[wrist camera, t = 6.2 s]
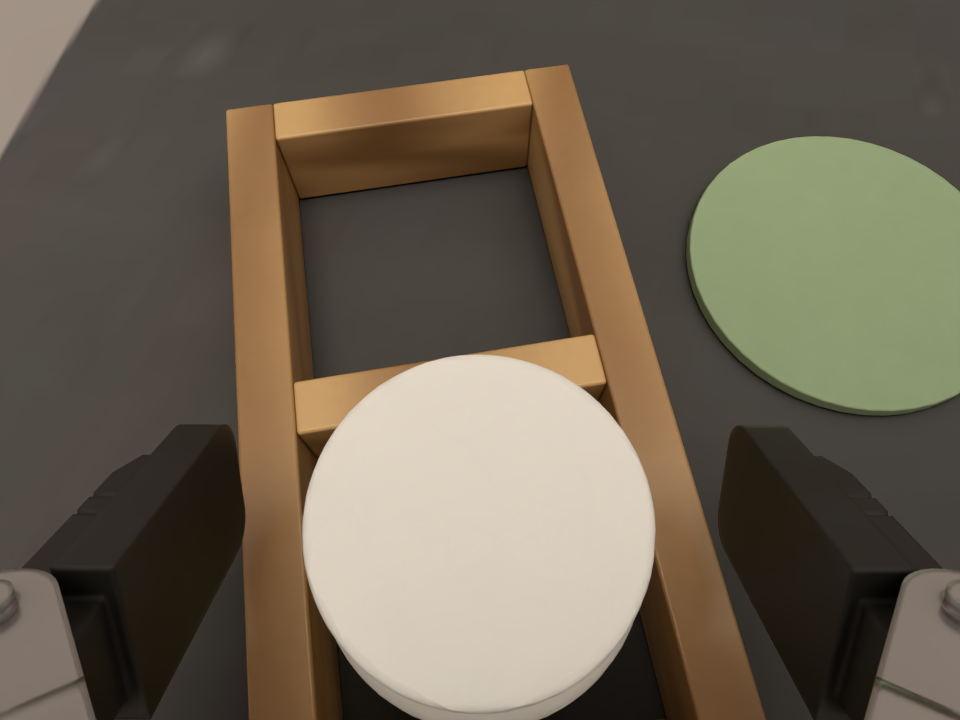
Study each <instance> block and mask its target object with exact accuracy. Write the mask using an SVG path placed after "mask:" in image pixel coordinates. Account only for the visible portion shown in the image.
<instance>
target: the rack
mask: <svg viewBox="0 0 960 720" xmlns="http://www.w3.org/2000/svg"><path fill="white" fill-rule="evenodd" d="M226 121H227V148H228V174H229V201H230V228H231V255H232V282H233V309H234V335H235V362H236V389H237V416H238V443H239V469H240V477H241V483H242V490H243V497H244V503H245V513H246V520H245V530H244V536H243V540H242V550H243V577H244V604H245V630H246V657H247V684H248V711H249V720H343V709H342V698H341V686H340V674H339V663H338V651H337V642H336V639H335V638H334V636H333V635H332V633H331V632H330V630H329V629H328V627H327V626H326V624H325V622H324V620H323V618H322V616H321V614H320V612H319V610H318V607H317V605H316V603H315V600H314V598H313V595H312V592H311V589H310V586H309V582H308V579H307V574H306V569H305V565H304V556H303V542H302V520H303V513H304V506H305V500H306V494H307V490H308V487H309V483H310V480H311V477H312V474H313V471H314V469H315V466H316V464H317V461H318V459H319V457H320V455H321V453H322V451H323V449H324V447H325V445H326V443H327V442H328V440H329V439H330V437H331V435H332V434H333V432H334V431H335V429H336V428H337V427H338V425H339V424H340V423H341V422H342V420H343V419H344V418H345V416H346V415H347V414H348V413H349V412H350V411H351V410H352V409H353V408H354V407H355V406H356V405H357V404H358V403H359V402H360V401H361V400H362V399H363V398H364V397H366V396H367V395H368V394H369V393H370V392H372V391H373V390H374V389H375V388H377V387H378V386H379V385H381V384H383V383H384V382H386V381H388V380H389V379H391V378H393V377H395V376H396V375H398V374H400V373H402V372H404V371H406V370H409V369H411V368H413V367H415V366H418V365H421V364H424V363H427V362H431V361H434V360H430V361H424V362H418V363H412V364H405V365H399V366H393V367H387V368H381V369H374V370H368V371H362V372H356V373H350V374H343V375H337V376H331V377H325V378H318V379H314V371H313V359H312V347H311V336H310V324H309V312H308V301H307V289H306V277H305V266H304V254H303V242H302V231H301V219H300V207H299V198H308V197H315V196H322V195H329V194H336V193H343V192H350V191H357V190H364V189H371V188H378V187H385V186H392V185H399V184H406V183H413V182H420V181H427V180H434V179H441V178H448V177H455V176H462V175H469V174H476V173H483V172H490V171H497V170H504V169H511V168H518V167H525V166H526V165H528V169H529V173H530V177H531V181H532V185H533V189H534V193H535V197H536V201H537V205H538V209H539V213H540V217H541V221H542V225H543V229H544V233H545V237H546V241H547V245H548V249H549V253H550V257H551V261H552V265H553V269H554V273H555V277H556V281H557V285H558V289H559V293H560V297H561V301H562V305H563V309H564V313H565V317H566V321H567V325H568V329H569V333H570V337H571V338H567V339H561V340H554V341H548V342H542V343H536V344H530V345H523V346H517V347H511V348H505V349H499V350H492V351H486V352H480V353H474V354H467V355H478V354H483V355H496V356H504V357H510V358H514V359H518V360H523V361H526V362H530V363H533V364H537V365H539V366H542V367H544V368H547V369H549V370H552V371H554V372H556V373H558V374H560V375H562V376H564V377H565V378H567V379H568V380H570V381H572V382H573V383H575V384H576V385H578V386H579V387H581V388H582V389H584V390H585V391H586V392H587V393H589V394H590V395H591V396H592V397H593V398H594V399H596V400H597V401H598V402H599V403H600V404H601V405H602V406H603V407H604V408H605V409H606V410H607V411H608V412H609V413H610V414H611V416H612V417H613V418H614V420H615V421H616V422H617V423H618V425H619V426H620V427H621V428H622V430H623V431H624V433H625V434H626V436H627V438H628V439H629V441H630V443H631V444H632V446H633V448H634V450H635V451H636V453H637V455H638V457H639V459H640V462H641V464H642V467H643V469H644V472H645V475H646V477H647V480H648V484H649V488H650V492H651V496H652V501H653V506H654V512H655V529H656V531H655V549H654V561H653V567H652V572H651V578H650V581H649V585H648V589H647V591H646V594H645V597H644V599H643V602H642V604H641V607H640V609H639V611H640V615H641V619H642V623H643V627H644V631H645V635H646V639H647V643H648V647H649V651H650V655H651V659H652V663H653V667H654V671H655V675H656V679H657V683H658V687H659V691H660V695H661V699H662V703H663V707H664V711H665V715H666V719H667V720H766V718H765V715H764V711H763V708H762V705H761V701H760V698H759V695H758V691H757V688H756V685H755V682H754V678H753V675H752V672H751V668H750V665H749V662H748V658H747V655H746V652H745V648H744V645H743V642H742V638H741V635H740V632H739V629H738V625H737V622H736V619H735V615H734V612H733V609H732V605H731V602H730V599H729V595H728V592H727V589H726V585H725V582H724V579H723V576H722V572H721V569H720V566H719V562H718V559H717V556H716V552H715V549H714V546H713V542H712V539H711V536H710V532H709V529H708V526H707V523H706V519H705V516H704V513H703V509H702V506H701V503H700V499H699V496H698V493H697V489H696V486H695V483H694V479H693V476H692V473H691V470H690V466H689V463H688V460H687V456H686V453H685V450H684V446H683V443H682V440H681V436H680V433H679V430H678V427H677V423H676V420H675V417H674V413H673V410H672V407H671V403H670V400H669V397H668V393H667V390H666V387H665V383H664V380H663V377H662V374H661V370H660V367H659V364H658V360H657V357H656V354H655V350H654V347H653V344H652V340H651V337H650V334H649V330H648V327H647V324H646V321H645V317H644V314H643V311H642V307H641V304H640V301H639V297H638V294H637V291H636V287H635V284H634V281H633V277H632V274H631V271H630V268H629V264H628V261H627V258H626V254H625V251H624V248H623V244H622V241H621V238H620V234H619V231H618V228H617V224H616V221H615V218H614V215H613V211H612V208H611V205H610V201H609V198H608V195H607V191H606V188H605V185H604V181H603V178H602V175H601V172H600V168H599V165H598V162H597V158H596V155H595V152H594V148H593V145H592V142H591V138H590V135H589V132H588V128H587V125H586V122H585V119H584V115H583V112H582V109H581V105H580V102H579V99H578V95H577V92H576V89H575V85H574V82H573V79H572V75H571V72H570V69H569V66H568V65H560V66H552V67H545V68H537V69H530V70H526V71H525V73H524V72H523V71H516V72H508V73H501V74H493V75H486V76H478V77H471V78H463V79H456V80H448V81H441V82H434V83H426V84H419V85H411V86H404V87H396V88H389V89H381V90H374V91H366V92H359V93H351V94H344V95H336V96H329V97H321V98H314V99H306V100H299V101H292V102H284V103H277V104H274V106H272V105H270V104H269V105H261V106H254V107H246V108H239V109H231V110H227V111H226ZM436 360H438V359H436ZM666 719H657V720H666Z"/></svg>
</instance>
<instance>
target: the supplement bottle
mask: <svg viewBox="0 0 960 720" xmlns="http://www.w3.org/2000/svg"><path fill="white" fill-rule="evenodd" d="M655 531H656V529H655V512H654V506H653V501H652V496H651V492H650V488H649V484H648V480H647V477H646V475H645V472H644V469H643V467H642V464H641V462H640V459H639V457H638V455H637V453H636V451H635V450H634V448H633V446H632V444H631V443H630V441H629V439H628V438H627V436H626V434H625V433H624V431H623V430H622V428H621V427H620V426H619V425H618V423H617V422H616V421H615V420H614V418H613V417H612V416H611V414H610V413H609V412H608V411H607V410H606V409H605V408H604V407H603V406H602V405H601V404H600V403H599V402H598V401H597V400H596V399H594V398H593V397H592V396H591V395H590V394H589V393H587V392H586V391H585V390H584V389H582V388H581V387H579V386H578V385H576V384H575V383H573V382H572V381H570V380H568V379H567V378H565V377H564V376H562V375H560V374H558V373H556V372H554V371H552V370H549V369H547V368H544V367H542V366H539V365H537V364H533V363H530V362H526V361H523V360H518V359H514V358H510V357H504V356H496V355H483V354H478V355H460V356H453V357H447V358H442V359H438V360H434V361H431V362H427V363H424V364H421V365H418V366H415V367H413V368H411V369H409V370H406V371H404V372H402V373H400V374H398V375H396V376H395V377H393V378H391V379H389V380H388V381H386V382H384V383H383V384H381V385H379V386H378V387H377V388H375V389H374V390H373V391H372V392H370V393H369V394H368V395H367V396H366V397H364V398H363V399H362V400H361V401H360V402H359V403H358V404H357V405H356V406H355V407H354V408H353V409H352V410H351V411H350V412H349V413H348V414H347V415H346V416H345V418H344V419H343V420H342V422H341V423H340V424H339V425H338V427H337V428H336V429H335V431H334V432H333V434H332V435H331V437H330V439H329V440H328V442H327V443H326V445H325V447H324V449H323V451H322V453H321V455H320V457H319V459H318V461H317V464H316V466H315V469H314V471H313V474H312V477H311V480H310V483H309V487H308V490H307V494H306V500H305V506H304V513H303V520H302V542H303V556H304V565H305V569H306V574H307V579H308V582H309V586H310V589H311V592H312V595H313V598H314V600H315V603H316V605H317V607H318V610H319V612H320V614H321V616H322V618H323V620H324V622H325V624H326V626H327V627H328V629H329V630H330V632H331V633H332V635H333V636H334V638H335V639H336V642H337V643H338V645H339V647H340V648H341V650H342V652H343V653H344V655H345V657H346V658H347V660H348V661H349V663H350V664H351V665H352V666H353V668H354V669H355V670H356V672H357V673H358V674H359V675H360V676H361V678H362V679H363V680H364V681H365V682H366V683H367V684H368V685H369V686H370V687H371V688H372V689H374V690H375V691H376V692H377V693H378V694H379V695H380V696H382V697H383V698H384V699H386V700H387V701H389V702H390V703H391V704H393V705H394V706H396V707H398V708H399V709H401V710H402V711H404V712H406V713H408V714H410V715H411V716H413V717H416V718H418V719H421V720H540V719H542V718H545V717H547V716H549V715H551V714H553V713H555V712H557V711H558V710H560V709H562V708H564V707H565V706H567V705H568V704H570V703H571V702H573V701H574V700H576V699H577V698H578V697H579V696H581V695H582V694H583V693H584V692H585V691H587V690H588V689H589V688H590V687H591V686H592V685H593V684H594V683H595V682H596V681H597V680H598V679H599V678H600V677H601V675H602V674H603V673H604V671H605V670H606V669H607V668H608V666H609V665H610V664H611V662H612V661H613V660H614V658H615V657H616V655H617V654H618V652H619V651H620V649H621V648H622V646H623V644H624V642H625V640H626V638H627V636H628V634H629V631H630V629H631V627H632V625H633V622H634V620H635V618H636V616H637V613H638V611H639V609H640V607H641V604H642V602H643V599H644V597H645V594H646V591H647V589H648V585H649V581H650V578H651V572H652V567H653V561H654V549H655Z"/></svg>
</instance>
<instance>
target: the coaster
mask: <svg viewBox="0 0 960 720" xmlns="http://www.w3.org/2000/svg"><path fill="white" fill-rule="evenodd" d="M686 259H687V268H688V275H689V279H690V283H691V286H692V290H693V293H694V296H695V298H696V300H697V303H698V305H699V308H700V310H701V312H702V313H703V315H704V317H705V319H706V320H707V322H708V324H709V325H710V327H711V329H712V330H713V331H714V332H715V334H716V335H717V336H718V338H719V339H720V340H721V342H722V343H723V344H724V345H725V346H726V347H727V348H728V350H729V351H730V352H731V353H732V354H733V355H734V356H735V357H736V358H737V359H738V360H739V361H740V362H742V363H743V364H744V365H745V366H746V367H748V368H749V369H750V370H751V371H752V372H754V373H755V374H756V375H758V376H759V377H761V378H762V379H764V380H765V381H767V382H768V383H770V384H771V385H773V386H774V387H776V388H778V389H780V390H782V391H784V392H786V393H788V394H790V395H792V396H794V397H796V398H798V399H801V400H803V401H806V402H809V403H811V404H814V405H817V406H820V407H824V408H828V409H831V410H835V411H839V412H845V413H852V414H859V415H884V416H886V415H896V414H905V413H911V412H915V411H919V410H923V409H927V408H930V407H932V406H935V405H937V404H940V403H942V402H945V401H947V400H949V399H951V398H952V397H954V396H956V395H958V394H959V393H960V192H959V191H958V190H957V189H956V188H955V187H953V186H952V185H951V184H950V183H948V182H947V181H946V180H945V179H943V178H942V177H940V176H939V175H937V174H936V173H934V172H933V171H931V170H930V169H928V168H927V167H925V166H923V165H922V164H920V163H918V162H916V161H914V160H912V159H910V158H909V157H906V156H904V155H902V154H899V153H897V152H894V151H892V150H890V149H887V148H884V147H880V146H877V145H874V144H871V143H867V142H862V141H858V140H853V139H847V138H838V137H820V136H811V137H800V138H791V139H786V140H781V141H777V142H773V143H770V144H767V145H764V146H761V147H759V148H757V149H754V150H752V151H750V152H748V153H746V154H744V155H742V156H741V157H739V158H738V159H736V160H735V161H733V162H732V163H730V164H729V165H728V166H727V167H726V168H725V169H723V170H722V171H721V172H720V173H719V174H718V175H717V176H716V177H715V178H714V180H713V181H712V182H711V183H710V184H709V186H708V187H707V188H706V190H705V192H704V194H703V195H702V197H701V199H700V200H699V202H698V204H697V207H696V209H695V211H694V214H693V217H692V219H691V222H690V226H689V231H688V236H687V247H686Z"/></svg>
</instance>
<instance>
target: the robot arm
mask: <svg viewBox="0 0 960 720" xmlns="http://www.w3.org/2000/svg"><path fill="white" fill-rule="evenodd" d="M245 520H246V513H245V503H244V497H243V490H242V483H241V477H240V470H239V463H238V457H237V450H236V443H235V438H234V434H233V431H232V429H231V428H230V427H229V426H228V425H178V426H176V427H175V428H174V429H173V430H172V431H171V433H170V434H169V435H168V436H167V437H166V438H165V439H164V440H163V442H162V443H161V444H160V445H159V446H158V447H157V448H156V449H155V450H154V452H153V453H152V454H151V455H142V456H140V457H139V458H137V459H135V460H133V461H132V462H130V463H128V464H127V465H125V466H123V467H121V468H120V469H118V470H116V471H115V472H113V473H112V474H111V475H110V476H109V477H108V478H107V479H106V480H105V481H104V482H103V483H102V484H101V486H100V487H99V488H98V489H97V490H96V491H95V492H94V496H93V497H89V498H88V499H87V500H86V501H85V502H84V503H83V504H82V505H81V507H80V508H79V509H78V510H77V514H73V515H72V516H71V517H70V518H69V519H68V520H67V521H66V522H65V523H64V524H63V525H62V526H61V528H60V529H59V530H58V531H57V532H56V533H55V534H54V535H53V536H52V537H51V538H50V539H49V540H48V541H47V542H46V543H45V544H44V545H43V546H42V547H41V549H40V550H39V551H38V552H37V553H36V554H35V555H34V556H33V557H32V558H31V559H30V560H29V561H28V562H27V563H26V564H25V565H24V566H23V567H22V568H21V569H11V570H5V571H0V720H114V719H151V717H152V715H153V713H154V711H155V710H156V708H157V706H158V704H159V702H160V700H161V698H162V696H163V694H164V692H165V690H166V688H167V687H168V685H169V683H170V681H171V679H172V677H173V675H174V673H175V671H176V669H177V667H178V665H179V664H180V662H181V660H182V658H183V656H184V654H185V652H186V650H187V648H188V646H189V644H190V642H191V641H192V639H193V637H194V635H195V633H196V631H197V629H198V627H199V625H200V623H201V621H202V619H203V617H204V616H205V614H206V612H207V610H208V608H209V606H210V604H211V602H212V600H213V598H214V596H215V594H216V593H217V591H218V589H219V587H220V585H221V583H222V581H223V579H224V577H225V575H226V573H227V571H228V570H229V568H230V566H231V564H232V562H233V560H234V558H235V556H236V554H237V552H238V550H239V548H240V546H241V543H242V540H243V536H244V530H245ZM718 527H719V534H720V539H721V543H722V546H723V548H724V550H725V552H726V554H727V556H728V558H729V560H730V562H731V564H732V566H733V567H734V569H735V571H736V573H737V575H738V577H739V579H740V581H741V583H742V585H743V586H744V588H745V590H746V592H747V594H748V596H749V598H750V600H751V602H752V603H753V605H754V607H755V609H756V611H757V613H758V615H759V617H760V619H761V621H762V622H763V624H764V626H765V628H766V630H767V632H768V634H769V636H770V638H771V639H772V641H773V643H774V645H775V647H776V649H777V651H778V653H779V655H780V657H781V658H782V660H783V662H784V664H785V666H786V668H787V670H788V672H789V674H790V675H791V677H792V679H793V681H794V683H795V685H796V687H797V689H798V691H799V693H800V694H801V696H802V698H803V700H804V702H805V704H806V706H807V708H808V710H809V711H810V713H811V715H812V717H813V719H814V720H960V571H955V570H949V569H943V568H942V567H941V566H940V565H939V564H938V563H937V562H936V561H935V560H934V559H933V558H932V557H931V556H930V555H929V554H928V553H927V552H926V551H925V550H924V549H923V547H922V546H921V545H920V544H919V543H918V542H917V541H916V540H915V539H914V538H913V537H912V536H911V535H910V534H909V533H908V532H907V531H906V530H905V529H904V528H903V527H902V526H901V525H900V524H899V523H898V521H897V520H896V519H895V518H894V517H893V516H888V511H887V510H886V509H885V508H884V507H883V506H882V505H881V504H880V503H879V502H878V501H877V500H876V499H875V498H871V493H870V492H869V491H868V490H867V489H866V488H865V487H864V486H863V485H862V484H861V483H860V482H859V481H858V480H857V479H856V478H855V477H854V476H853V475H852V474H851V473H850V472H848V471H846V470H844V469H843V468H841V467H839V466H837V465H836V464H834V463H832V462H831V461H829V460H827V459H825V458H824V457H822V456H813V454H812V453H811V452H810V451H809V450H808V449H807V448H806V447H805V446H804V444H803V443H802V442H801V441H800V440H799V439H798V438H797V437H796V436H795V435H794V433H793V432H792V431H791V430H790V429H789V428H788V427H786V426H736V427H735V428H734V429H733V430H732V432H731V435H730V438H729V443H728V449H727V456H726V463H725V469H724V476H723V482H722V489H721V495H720V502H719V509H718Z"/></svg>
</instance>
